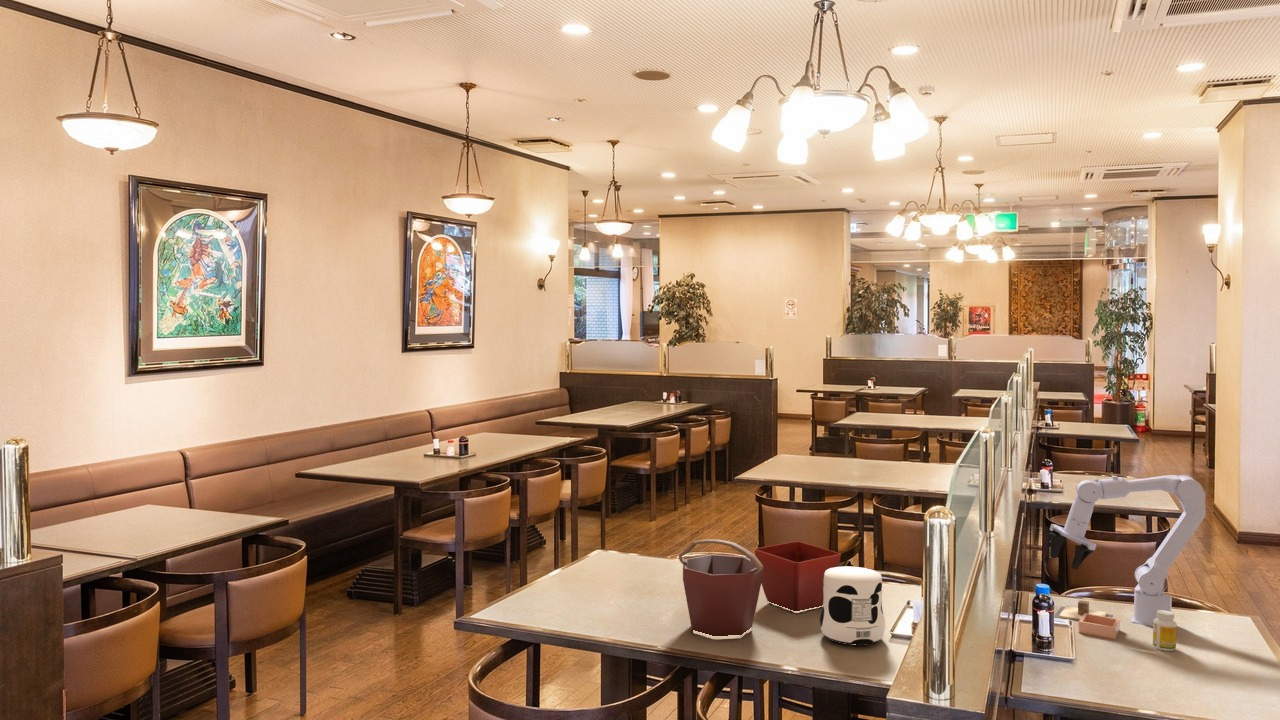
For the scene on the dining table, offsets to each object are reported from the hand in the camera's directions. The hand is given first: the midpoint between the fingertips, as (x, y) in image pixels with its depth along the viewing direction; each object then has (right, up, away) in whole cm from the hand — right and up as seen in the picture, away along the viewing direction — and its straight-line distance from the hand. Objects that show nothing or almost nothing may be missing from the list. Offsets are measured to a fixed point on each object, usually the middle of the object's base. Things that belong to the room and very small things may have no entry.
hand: (1063, 562), depth 267 cm
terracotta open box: (+2, -16, -16) cm, 23 cm away
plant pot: (-78, -15, +7) cm, 80 cm away
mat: (+4, -15, -3) cm, 16 cm away
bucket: (-103, -16, -14) cm, 105 cm away
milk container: (-68, -16, -22) cm, 73 cm away
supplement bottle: (+13, -17, -28) cm, 35 cm away
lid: (+4, -15, -3) cm, 16 cm away
